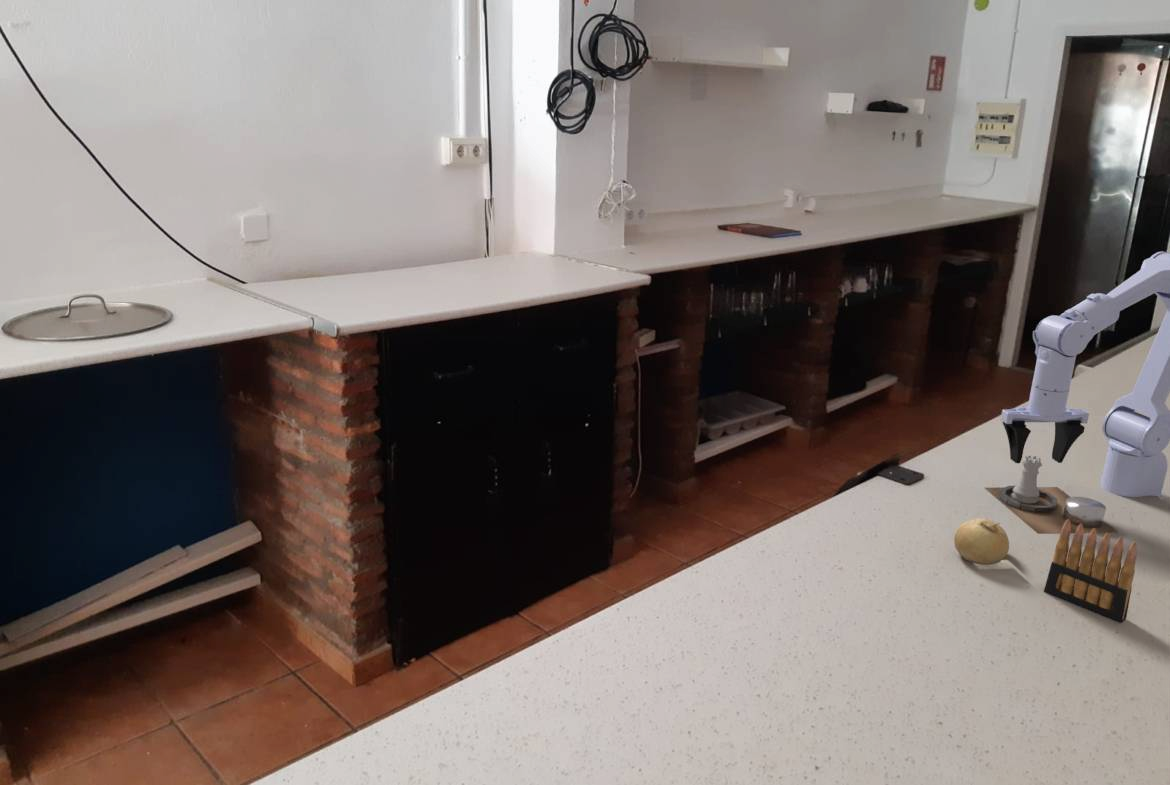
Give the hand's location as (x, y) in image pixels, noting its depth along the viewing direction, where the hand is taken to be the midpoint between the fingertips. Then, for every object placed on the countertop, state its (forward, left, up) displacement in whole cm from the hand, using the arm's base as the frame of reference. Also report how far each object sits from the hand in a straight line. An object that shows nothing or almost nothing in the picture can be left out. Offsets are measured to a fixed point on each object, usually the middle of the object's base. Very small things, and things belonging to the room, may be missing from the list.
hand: (1036, 460), depth 160 cm
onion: (+18, +18, -9) cm, 27 cm away
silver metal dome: (-5, +8, -8) cm, 12 cm away
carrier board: (-2, +3, -9) cm, 9 cm away
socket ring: (0, 0, -8) cm, 8 cm away
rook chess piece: (0, -1, -8) cm, 8 cm away
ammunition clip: (+9, +32, -9) cm, 35 cm away
